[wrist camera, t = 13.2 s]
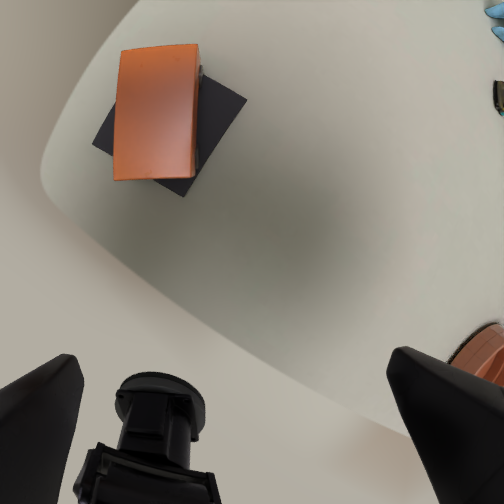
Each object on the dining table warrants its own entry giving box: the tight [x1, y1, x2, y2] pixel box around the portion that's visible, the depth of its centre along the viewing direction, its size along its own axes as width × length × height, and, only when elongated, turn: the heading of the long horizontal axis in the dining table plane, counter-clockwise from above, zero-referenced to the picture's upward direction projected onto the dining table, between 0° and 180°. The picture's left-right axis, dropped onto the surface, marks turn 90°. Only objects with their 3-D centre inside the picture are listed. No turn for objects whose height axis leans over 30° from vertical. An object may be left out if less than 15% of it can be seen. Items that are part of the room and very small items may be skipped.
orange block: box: [113, 44, 203, 181], centre depth 14 cm, size 7×4×3 cm, turn 178°
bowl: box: [450, 324, 504, 387], centre depth 24 cm, size 13×13×4 cm
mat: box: [92, 75, 247, 197], centre depth 15 cm, size 7×7×1 cm
